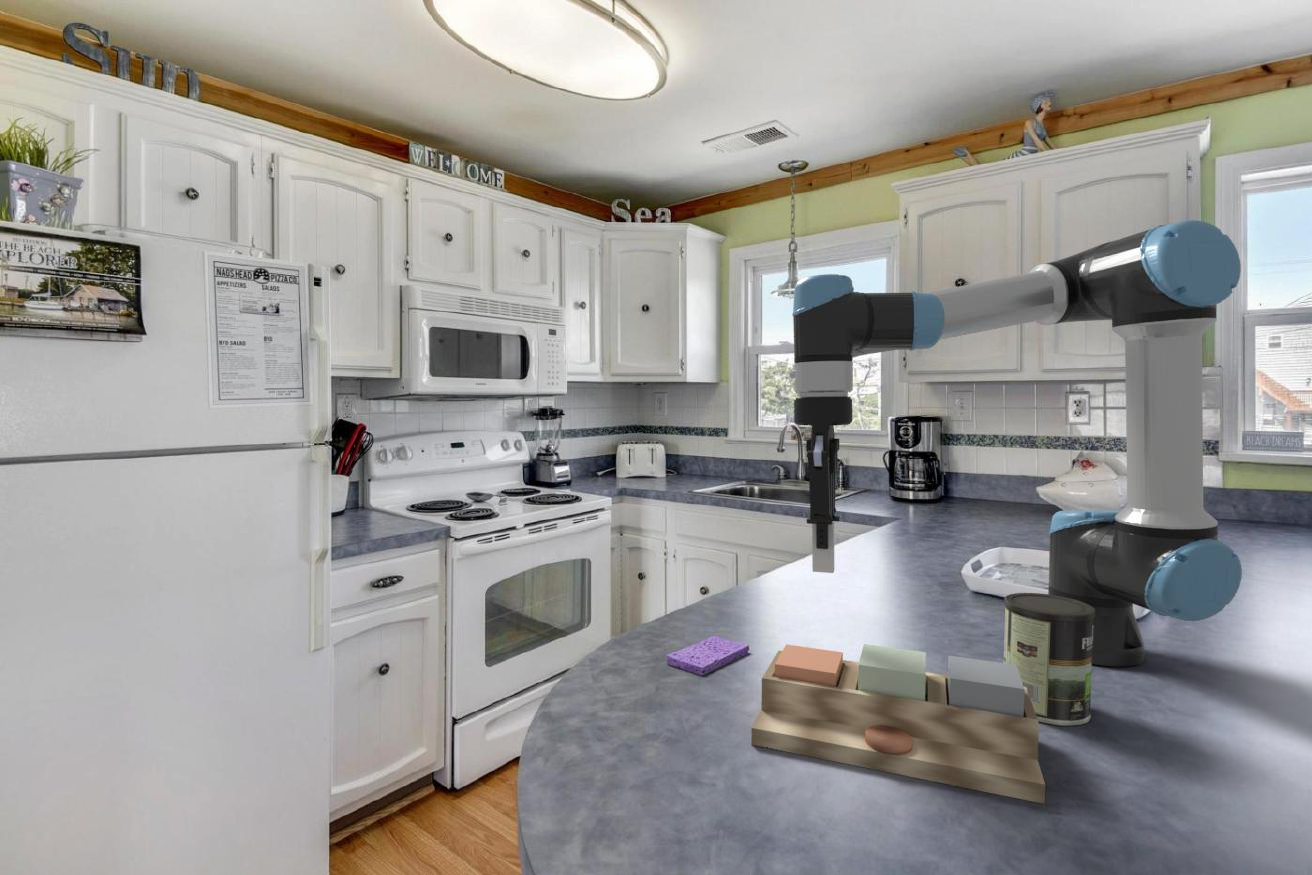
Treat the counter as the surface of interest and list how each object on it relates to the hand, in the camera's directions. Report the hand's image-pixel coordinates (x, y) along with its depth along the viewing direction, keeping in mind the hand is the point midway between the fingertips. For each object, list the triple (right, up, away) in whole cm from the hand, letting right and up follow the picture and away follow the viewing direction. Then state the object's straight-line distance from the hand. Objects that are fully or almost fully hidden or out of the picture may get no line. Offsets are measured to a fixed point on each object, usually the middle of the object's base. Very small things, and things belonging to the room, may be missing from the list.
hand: (823, 570), depth 90 cm
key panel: (+5, -18, -10) cm, 21 cm away
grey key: (+16, -14, -12) cm, 24 cm away
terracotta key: (-3, -15, -4) cm, 16 cm away
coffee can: (+29, -18, -1) cm, 34 cm away
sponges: (-14, -17, +15) cm, 27 cm away
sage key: (+6, -14, -8) cm, 17 cm away
